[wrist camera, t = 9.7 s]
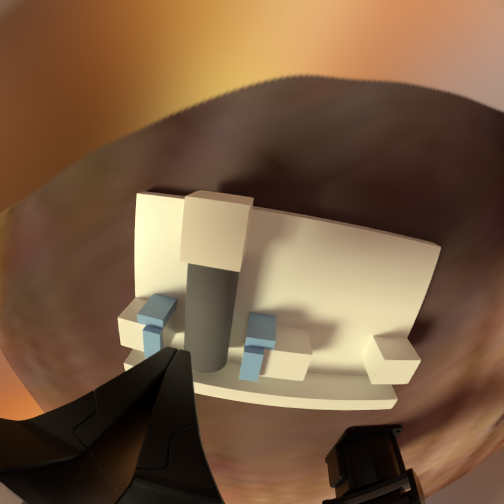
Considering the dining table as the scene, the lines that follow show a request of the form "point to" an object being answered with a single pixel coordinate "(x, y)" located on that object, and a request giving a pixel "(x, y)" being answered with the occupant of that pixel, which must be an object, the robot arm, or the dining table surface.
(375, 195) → the dining table surface
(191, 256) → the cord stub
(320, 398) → the backplate with stepped blocks
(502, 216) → the dining table surface
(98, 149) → the dining table surface
